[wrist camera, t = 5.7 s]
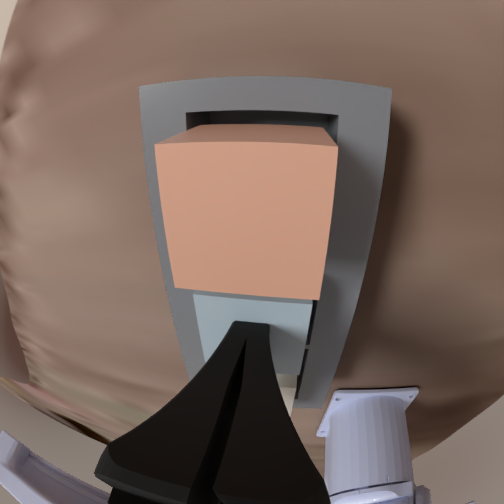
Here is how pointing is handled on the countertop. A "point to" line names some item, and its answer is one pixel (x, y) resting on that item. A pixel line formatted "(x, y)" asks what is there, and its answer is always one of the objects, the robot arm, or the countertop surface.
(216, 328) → the key slate
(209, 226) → the key terracotta
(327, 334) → the grey slotted frame
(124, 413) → the countertop surface
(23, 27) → the countertop surface
